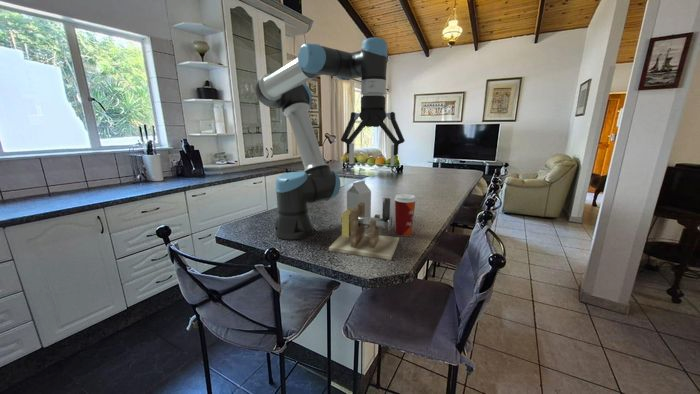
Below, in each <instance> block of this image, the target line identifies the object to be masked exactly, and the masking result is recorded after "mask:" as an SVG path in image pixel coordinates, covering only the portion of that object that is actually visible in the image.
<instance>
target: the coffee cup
mask: <svg viewBox="0 0 700 394" xmlns="http://www.w3.org/2000/svg"><path fill="white" fill-rule="evenodd" d="M393 200H394V206H395V207H394V208H395V209H394V213H395V214H394V215H395V217H394V218H395V235H398V236H401V237H409V236H411V235H412V232H413V226H414V225H413V224H414V218H415V217H414V216H415V215H414V214H415V207H416V202H417V199H416V196H415V195H414V194H410V193H409V194H408V193H399V194H395V197H394V199H393Z"/></svg>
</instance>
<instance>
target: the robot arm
mask: <svg viewBox="0 0 700 394" xmlns="http://www.w3.org/2000/svg"><path fill="white" fill-rule="evenodd" d="M388 56H389V55H388V43H387V41H386V40H385V39H383V38H380V37H369V38H365V39H363V41H362V42H361V49H360V50H358V51H353V52H350V51H349V52H348V51H344V50H340V49H336V48H331V47H329V46H324V45H320V44H316V43H311V42H308V43H307V42H306V43H303V44H302V45H301V46H300V49H298V53H297V57H296V58H295V59H293V60H291V61H290V62H288V63H286V64H285V65H284V66H282V67H280V68H279V69H277V70H276V71H274V72H272V73H266V74H264V75H262V76H260V77H259V78H258V79H257V80H256V83H255V86H254V92H255V95H256V97H257V99H258V101H259V102H260V103H261V104H263V105H264V106H266V107H268V108H272V109H281V110H282V112H283V113H282V114H283V115H284V117H286V118H287V119H288V120H289V124H290V127H291V130H292V134H293V136H294V139H295V142H296V146H297V148H298V152H299V155H300V158H301V162H302V164H303V167H304V170H303V171H294V172H293V171H291V172H287V173H283V174H281V175H279V176H278V177H276V181H275V193H276V205H277V206H276V207H277V216H276V217H277V218H276V221H275V225H274V229H273V230H274V236H275V237H276V238H279V239H281V240H290V241H291V240H300V239H304V238H308V237H309V236H311V235H312V234H314V231H315V230H314V224H313V222H312V218H311V216H310V212H309V205H310V204H317V203H320V202H325V201H330V200H333V199H335V198H336V197H337V196H338V194H339V193H340V190H341V179H340V176H339V174H338V173H336V171H333V170H331V167H330V165H329V164H328V163H326V162H325V160H324V158H323V157H324V156H323V153H322V151H321V149H320V145H319V141H318V139H317V136H316V134H315V130H314V127H313V124H312V121H311V119H310V114H309V111H310V109H311V105H312V98H313V96H312V92H311V89H310V87H309V86H308V84H306V83H307V82H309V81H311V80H314V79H315V78H319V77H320V76H329V77H336V78H337V79H338V80H340V81H351V80H355V79H359V78H360V79H361V82H360V85H361V87H360V88H361V89H360V91H361V92H360V94H361V97H360V112H359V113H358V112H355V111H352V112H350V119H349V121H348V123H347V125H346V127H345V129H344V132H343V134H342V136H341V139H340V141H341V142H342V143H345V145H346V154H347V155H348V154H349V155H348V157H349V158H348V161H349V162H348V164H349V165H354V163H355V143H353V142H354V140H355V139H356V138H357V137H358V135H359V134H360V133H361V132H362V131H363V130H364V128H365V127H367V128H371V127H373V128H378V127H380V128H381V129H382V130H383V132H384V133H385V134H386V136H387V137H388V138H389V139H390V141H391V143H392V144H391V147H390V167H394V166H395V156H398V155H399V145H400V144H403V143H404V142H405V138H404V135H403V134H402V130H401V129H400V127H399V124H398V122H397V119H396V112H394V111H391V112H386V96H385V95H387V92H386V91H387V67H388V66H387V65H388ZM386 118H387V119H388V120H389V121H390V122H391V125H392V127H393V129H394V131H395V134H396V136H397V138H398V139H397V138H396V137H395V135H394V134H393V133H392V131H391V129H389V127H388V126H387V124H386V123H385V122H384V121H385V119H386ZM358 119H360V120H361V122H360V123H359V124H358V126H357V127H356V129H355V130H354V131H353V132H352V130H353V127H354V125H355V123H356V120H358ZM351 132H352V133H351Z"/></svg>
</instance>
